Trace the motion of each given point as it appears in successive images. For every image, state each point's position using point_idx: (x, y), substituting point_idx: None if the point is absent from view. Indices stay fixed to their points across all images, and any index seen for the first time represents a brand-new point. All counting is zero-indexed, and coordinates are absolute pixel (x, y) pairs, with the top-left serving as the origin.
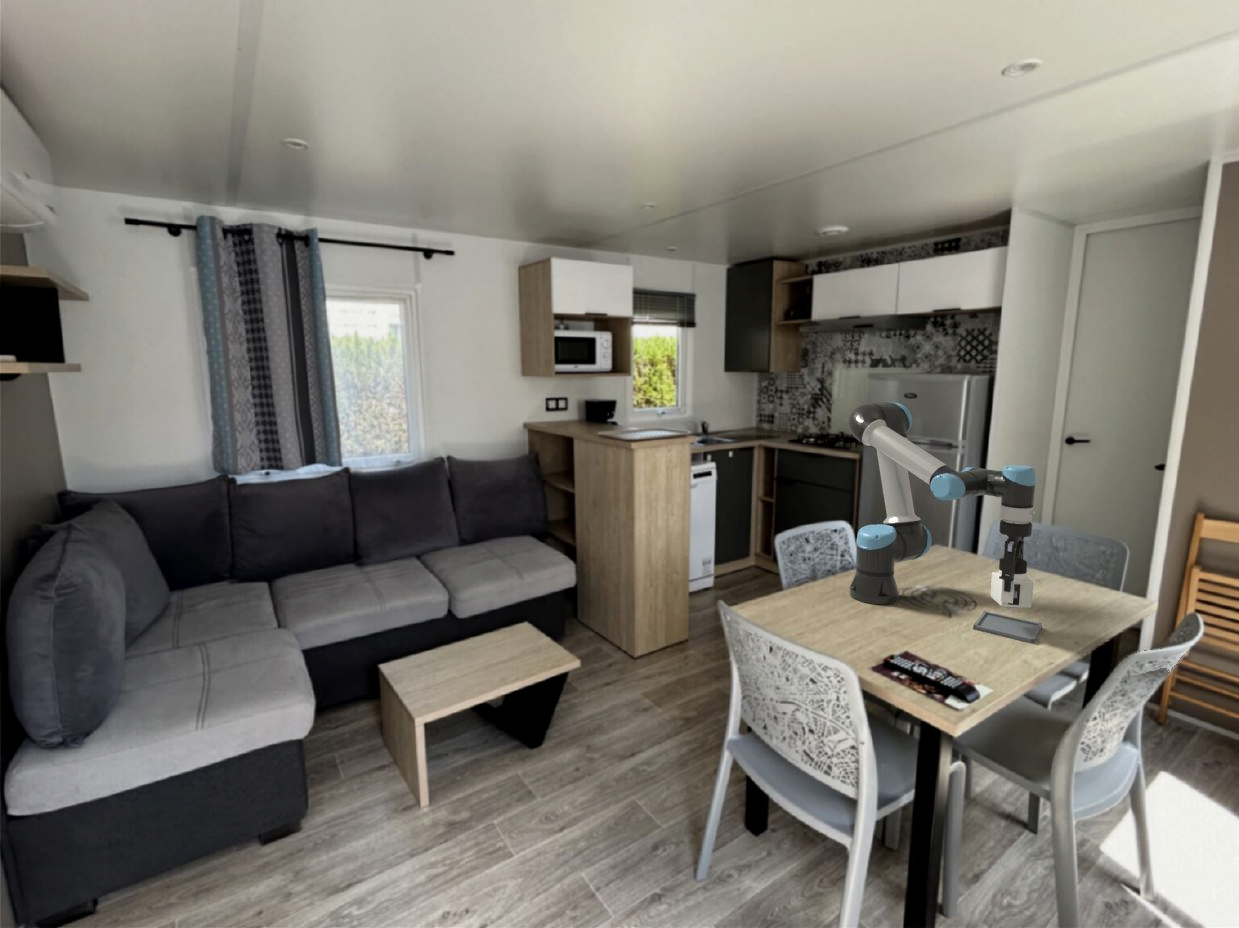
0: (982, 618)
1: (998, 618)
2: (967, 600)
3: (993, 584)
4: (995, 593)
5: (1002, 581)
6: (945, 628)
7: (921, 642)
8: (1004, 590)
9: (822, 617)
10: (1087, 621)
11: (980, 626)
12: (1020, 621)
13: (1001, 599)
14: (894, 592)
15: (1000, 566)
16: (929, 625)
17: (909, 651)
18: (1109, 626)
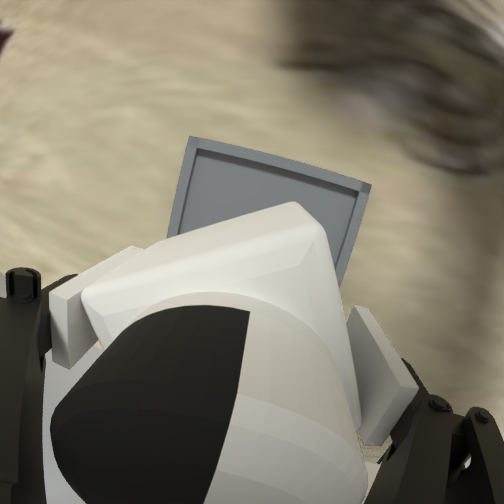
0: (292, 171)
1: (328, 230)
2: (477, 150)
3: (257, 221)
4: (222, 226)
5: (62, 286)
6: (164, 58)
7: (52, 36)
8: (70, 278)
9: None
10: None
11: (188, 159)
12: None
13: (126, 250)
14: None
15: (141, 335)
16: (171, 17)
17: (11, 37)
18: (370, 461)
